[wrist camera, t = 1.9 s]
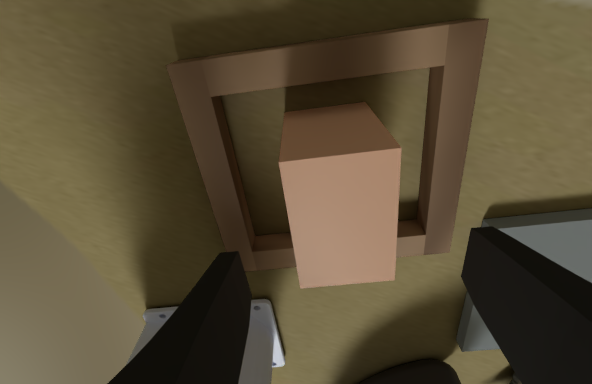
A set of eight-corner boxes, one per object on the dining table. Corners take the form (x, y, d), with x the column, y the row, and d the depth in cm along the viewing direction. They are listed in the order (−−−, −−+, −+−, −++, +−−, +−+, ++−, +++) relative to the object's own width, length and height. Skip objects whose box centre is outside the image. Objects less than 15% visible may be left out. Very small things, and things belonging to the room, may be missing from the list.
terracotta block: (299, 210, 18) (300, 288, 13) (284, 111, 15) (278, 162, 10) (366, 203, 18) (394, 280, 13) (364, 101, 15) (401, 147, 10)
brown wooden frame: (237, 256, 20) (233, 272, 19) (177, 60, 14) (165, 65, 13) (439, 236, 19) (449, 252, 18) (469, 18, 13) (488, 18, 12)
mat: (456, 339, 24) (461, 351, 24) (483, 219, 18) (492, 229, 17) (613, 327, 24) (625, 339, 23) (696, 197, 18) (717, 207, 17)
